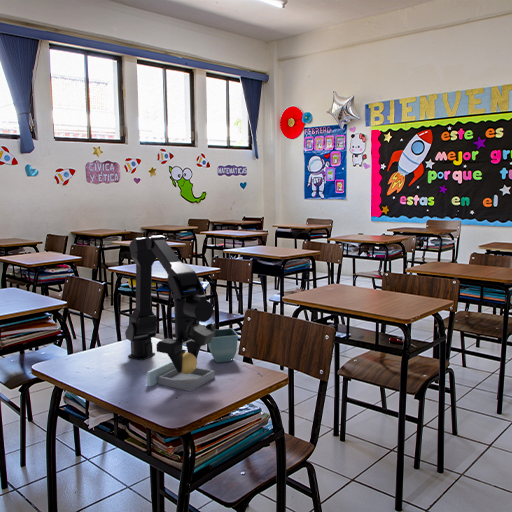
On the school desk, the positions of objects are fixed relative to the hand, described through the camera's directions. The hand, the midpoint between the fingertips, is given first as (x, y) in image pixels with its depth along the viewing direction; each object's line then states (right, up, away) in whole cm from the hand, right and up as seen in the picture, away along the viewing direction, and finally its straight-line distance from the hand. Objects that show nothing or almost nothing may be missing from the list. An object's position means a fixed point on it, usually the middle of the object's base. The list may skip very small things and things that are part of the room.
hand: (186, 368), depth 140 cm
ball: (0, -1, 0) cm, 1 cm away
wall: (-7, -3, +3) cm, 8 cm away
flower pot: (+9, -2, +18) cm, 20 cm away
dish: (0, -4, 0) cm, 4 cm away
